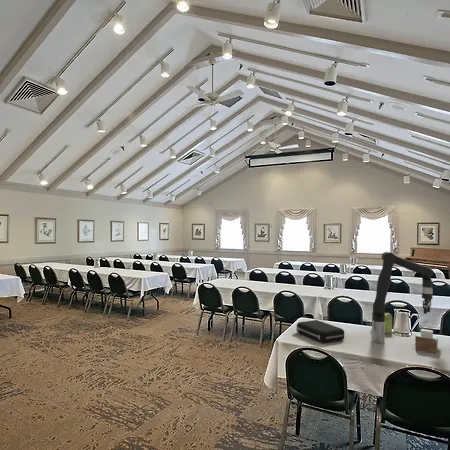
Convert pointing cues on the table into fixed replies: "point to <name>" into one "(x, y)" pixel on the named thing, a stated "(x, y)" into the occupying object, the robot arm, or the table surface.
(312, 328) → the briefcase
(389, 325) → the protein box
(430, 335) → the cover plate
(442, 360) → the table surface
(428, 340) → the walnut box
